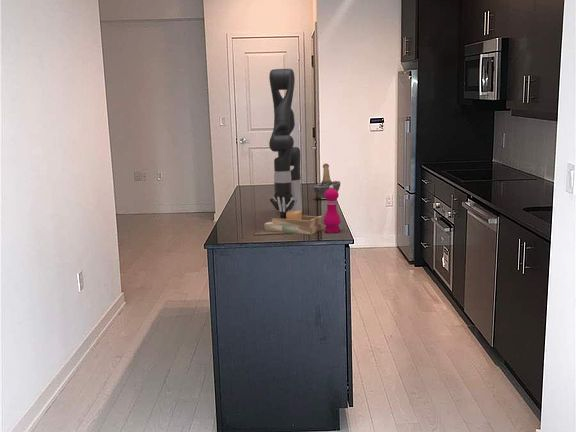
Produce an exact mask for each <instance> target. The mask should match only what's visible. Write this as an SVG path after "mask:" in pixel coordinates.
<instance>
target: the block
mask: <svg viewBox="0 0 576 432" xmlns="http://www.w3.org/2000/svg"><path fill="white" fill-rule="evenodd" d="M302 213H303V210H302V211H289V212H287V213H286V219H294V220H302V216H303V214H302Z"/></svg>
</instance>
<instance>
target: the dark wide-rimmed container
mask: <svg viewBox="0 0 576 432" xmlns="http://www.w3.org/2000/svg"><path fill="white" fill-rule="evenodd" d="M329 167H330V164H328V163H323V165H322V168H323V171H322V172H323V174H322V180H321V182H319V183H317V184H314V185H313V190H314V191H313V192H315V195H316V196H317V197H318V198H320V199H321V198H325V192H326V191H327V190H328V189H330V188H329V187H330V186H331V185H332V186H333V187H334V188H333V189H335V190H337V191H338V192H339V191H340V187H341V181H339V180H338V181H337V180H335V181H332V180H331V176H330V169H329Z"/></svg>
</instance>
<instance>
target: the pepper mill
mask: <svg viewBox="0 0 576 432" xmlns="http://www.w3.org/2000/svg"><path fill="white" fill-rule="evenodd" d="M329 188H330V189H328V190H327V191H326V192H325V198H326V200H325V202H326V203H325V204H326V207H327V209H326V212H325V215H324V218H323V225H325V227H324V232H325V233H327V234H336V233H340V231H341V230H340V226H339V225H340V224H341V217H340V215H339V212H338V208H337V207H338V206H337V205H338V198H339V195H340V194H339V190H338V191H337V190H335V189H333V188H334V187H333V186H332V185H331V186H330V187H329ZM335 232H336V233H335Z"/></svg>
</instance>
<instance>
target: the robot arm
mask: <svg viewBox="0 0 576 432" xmlns="http://www.w3.org/2000/svg"><path fill="white" fill-rule="evenodd" d="M295 77H296V76H295V71H294V70H293V69H292V68H276V69H274V68H273V69H271V70H270V72H269V75H268V79H269V85H270V91H271V96H272V103H273V116H274V117H273V118H274V119H273V130H272V133H271V136H270V139H269V141H268V142H269V143H268V146H269V148H270V149H269V150H271V151H272V152H274V153H275V152H277V156H278V157H275V158H274V159H273V160H274V162H273V167H274V169H273V170H274V174H273V185H274V187H273V189H274V195H273V196H272V198H270V199H269V201H270V202H271V204H272V206H273V207H274V208H275V210H276V211H279V215H280V217H279V218H280V219H286V213H287V212H289V211H302V212H303V199H302V186H301V185H302V183H301V180H302V179H301V178H302V177H301V150H300V147H298V146H294V144H295V141H294V138H293V136H291V134H292V132H293V131H294V129H295V126H296V123H295V113H294V111H293V109H292V105H293V104H292V103H293V99H294V91H295V82H296V80H295V79H296V78H295ZM280 91H286V92H285V94H284V96H283V95H282V94H281V92H280ZM291 167H293V168H292V169H291Z"/></svg>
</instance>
